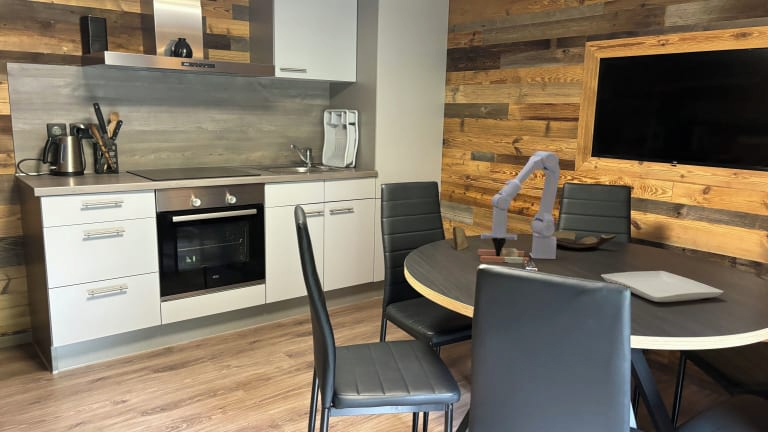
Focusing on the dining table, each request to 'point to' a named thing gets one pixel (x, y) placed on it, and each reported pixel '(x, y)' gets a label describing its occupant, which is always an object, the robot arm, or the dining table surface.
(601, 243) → the dark brown bowl
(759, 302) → the dining table surface
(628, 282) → the square plate
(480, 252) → the pink-beige flat slab
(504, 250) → the maple block
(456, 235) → the rock
